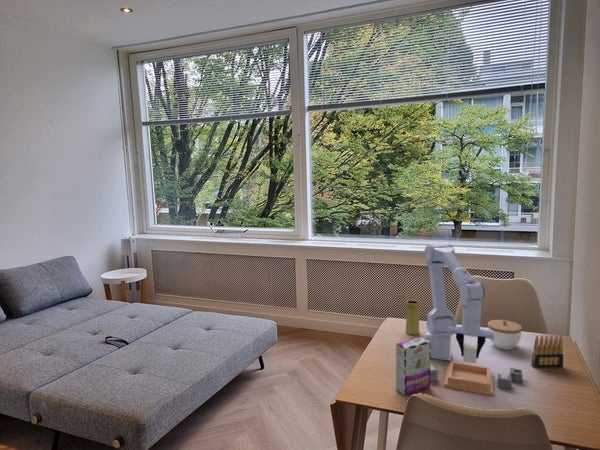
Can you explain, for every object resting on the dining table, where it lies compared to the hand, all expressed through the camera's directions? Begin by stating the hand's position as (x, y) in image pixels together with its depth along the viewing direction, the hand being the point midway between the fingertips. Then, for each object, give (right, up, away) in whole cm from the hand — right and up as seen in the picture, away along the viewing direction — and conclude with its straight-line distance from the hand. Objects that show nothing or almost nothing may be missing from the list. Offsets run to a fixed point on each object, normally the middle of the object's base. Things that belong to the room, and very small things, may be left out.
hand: (469, 356), depth 143 cm
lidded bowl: (+26, -5, +29) cm, 39 cm away
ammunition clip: (+33, -7, +11) cm, 35 cm away
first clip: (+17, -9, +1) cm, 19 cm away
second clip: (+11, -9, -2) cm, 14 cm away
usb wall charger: (-13, -9, +5) cm, 17 cm away
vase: (-8, -4, +45) cm, 46 cm away
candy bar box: (-21, -10, -4) cm, 23 cm away
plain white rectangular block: (0, -1, 0) cm, 2 cm away
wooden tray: (0, -9, +1) cm, 9 cm away
